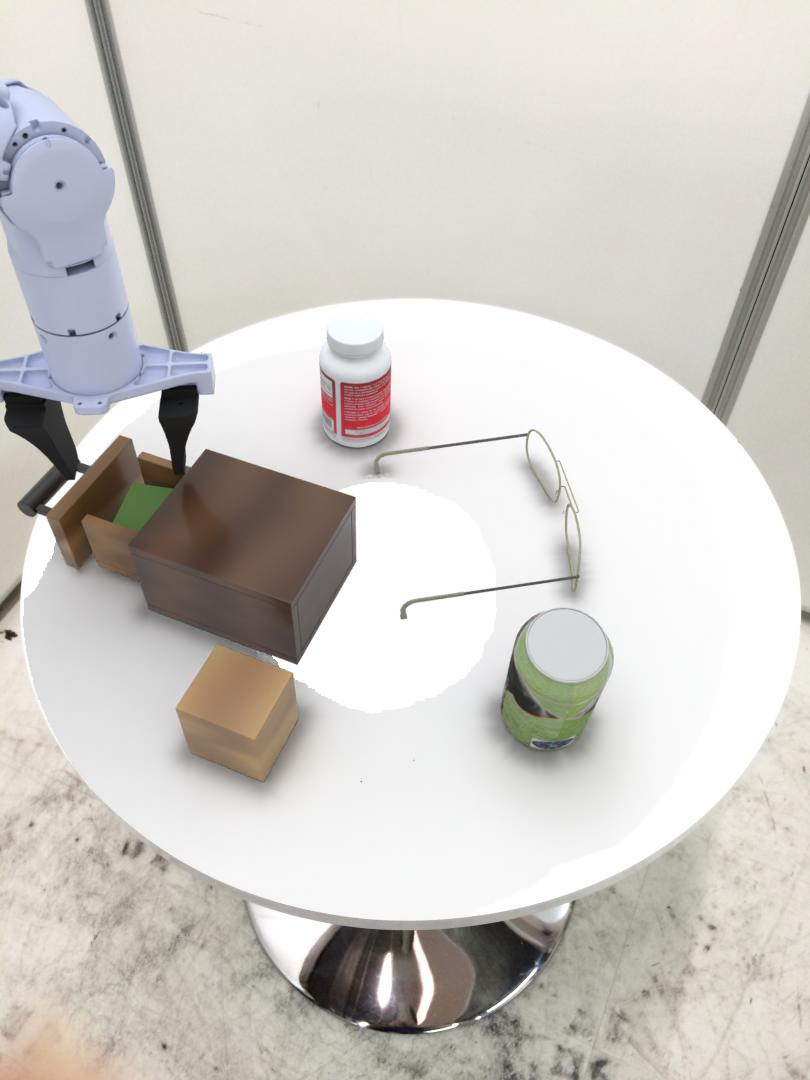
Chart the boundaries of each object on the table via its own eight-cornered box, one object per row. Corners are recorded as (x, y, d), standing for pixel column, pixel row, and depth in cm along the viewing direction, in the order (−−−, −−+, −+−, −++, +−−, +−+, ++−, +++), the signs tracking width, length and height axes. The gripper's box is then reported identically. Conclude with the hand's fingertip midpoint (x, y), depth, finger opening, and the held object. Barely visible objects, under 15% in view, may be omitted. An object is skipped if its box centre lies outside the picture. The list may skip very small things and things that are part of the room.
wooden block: (189, 752, 58) (174, 708, 54) (227, 690, 62) (216, 643, 57) (263, 783, 57) (254, 740, 53) (298, 718, 60) (293, 672, 56)
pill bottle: (402, 420, 81) (406, 320, 72) (367, 459, 77) (367, 359, 69) (345, 396, 83) (343, 296, 74) (309, 434, 79) (302, 333, 71)
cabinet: (148, 609, 66) (127, 545, 60) (218, 514, 72) (205, 448, 67) (297, 665, 63) (290, 603, 57) (356, 561, 70) (356, 496, 64)
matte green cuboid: (140, 510, 70) (132, 482, 67) (183, 516, 69) (177, 488, 67) (117, 557, 66) (108, 530, 64) (163, 564, 66) (155, 537, 64)
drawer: (14, 546, 68) (-10, 495, 64) (86, 468, 74) (68, 417, 70) (195, 613, 65) (183, 565, 60) (256, 526, 70) (248, 476, 66)
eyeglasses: (588, 600, 68) (602, 560, 64) (400, 620, 66) (402, 580, 62) (537, 458, 78) (546, 416, 74) (372, 472, 76) (373, 429, 72)
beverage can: (583, 684, 63) (619, 583, 54) (586, 778, 58) (627, 686, 49) (496, 675, 63) (518, 573, 54) (493, 768, 58) (517, 675, 49)
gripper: (-62, 353, 49) (12, 513, 60) (198, 344, 51) (226, 502, 61) (-34, 282, 54) (30, 443, 64) (203, 276, 55) (229, 434, 66)
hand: (126, 467), depth 63 cm, fingers open, 7 cm apart
